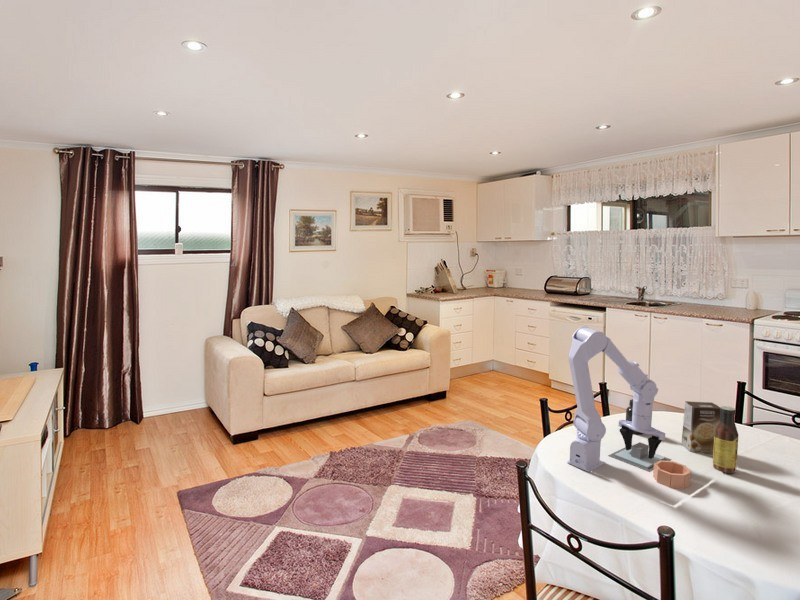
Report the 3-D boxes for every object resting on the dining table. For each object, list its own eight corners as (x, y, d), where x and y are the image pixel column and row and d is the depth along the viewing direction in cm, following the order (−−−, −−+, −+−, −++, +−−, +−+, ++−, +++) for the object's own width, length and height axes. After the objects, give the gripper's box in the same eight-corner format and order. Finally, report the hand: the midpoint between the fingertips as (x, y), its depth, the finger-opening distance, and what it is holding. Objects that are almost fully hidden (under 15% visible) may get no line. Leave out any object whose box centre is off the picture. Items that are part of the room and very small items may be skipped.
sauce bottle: (739, 475, 152) (745, 413, 149) (717, 473, 153) (722, 411, 150) (730, 465, 158) (735, 405, 155) (708, 463, 159) (713, 404, 157)
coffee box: (689, 453, 167) (693, 407, 165) (680, 445, 173) (684, 401, 171) (718, 454, 166) (722, 408, 164) (708, 446, 172) (712, 401, 170)
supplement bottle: (648, 436, 181) (650, 404, 180) (629, 435, 181) (631, 404, 180) (640, 428, 188) (641, 398, 186) (621, 428, 188) (623, 398, 186)
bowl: (679, 492, 142) (680, 478, 141) (648, 480, 149) (649, 466, 148) (694, 483, 147) (695, 469, 146) (663, 471, 154) (664, 458, 154)
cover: (647, 468, 155) (648, 456, 155) (614, 456, 164) (615, 444, 164) (664, 459, 162) (665, 447, 161) (632, 447, 170) (632, 436, 170)
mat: (649, 473, 153) (649, 471, 153) (607, 457, 164) (607, 455, 164) (671, 461, 161) (671, 459, 161) (630, 446, 173) (630, 444, 173)
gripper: (671, 417, 157) (668, 458, 159) (627, 404, 169) (625, 442, 171) (659, 422, 153) (657, 464, 155) (615, 409, 165) (613, 448, 167)
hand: (639, 453), depth 163 cm, fingers open, 7 cm apart
